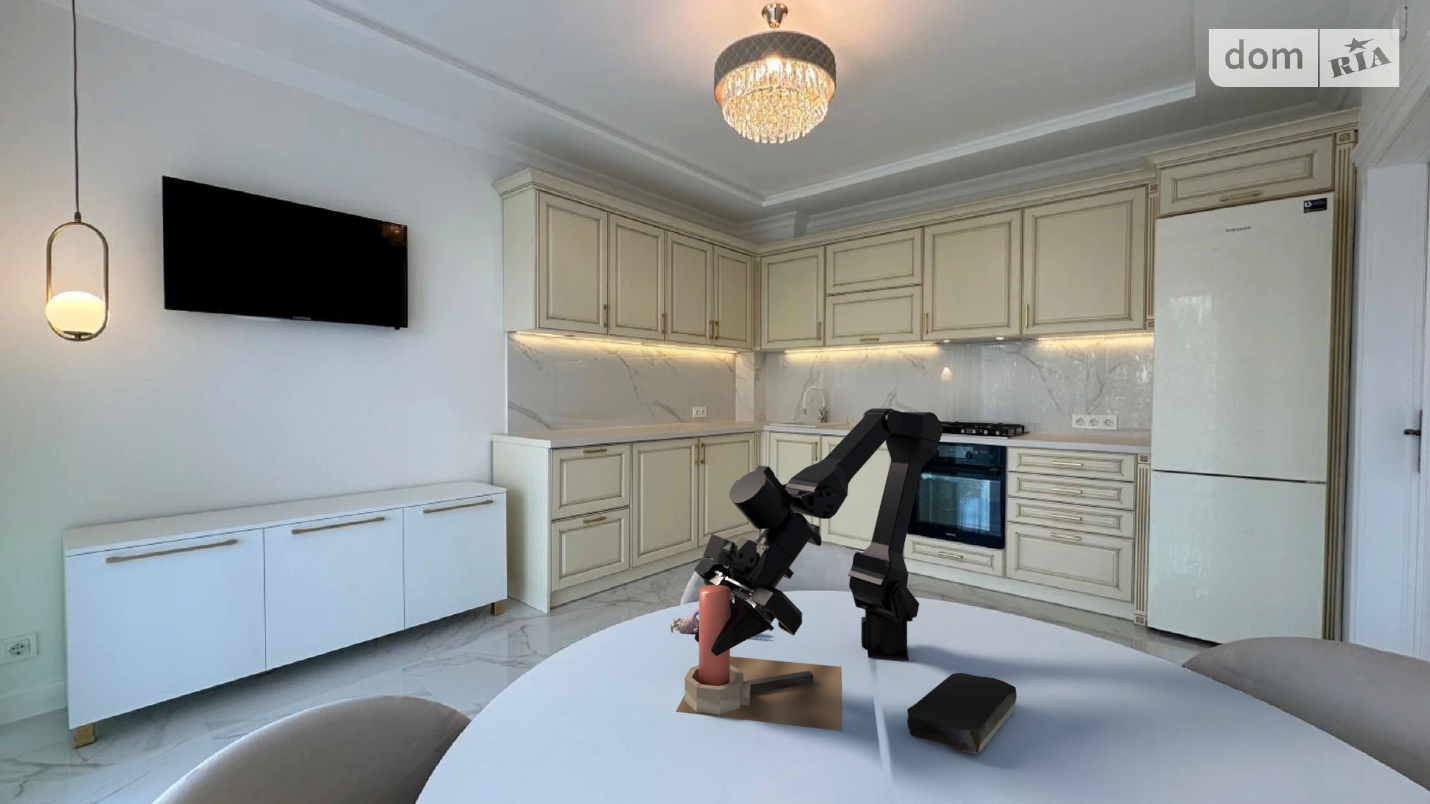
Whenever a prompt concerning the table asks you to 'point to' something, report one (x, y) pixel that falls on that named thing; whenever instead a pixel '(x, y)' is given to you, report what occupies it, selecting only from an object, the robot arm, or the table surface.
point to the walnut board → (770, 693)
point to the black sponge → (962, 711)
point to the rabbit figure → (687, 624)
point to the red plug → (713, 634)
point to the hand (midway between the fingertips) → (705, 647)
